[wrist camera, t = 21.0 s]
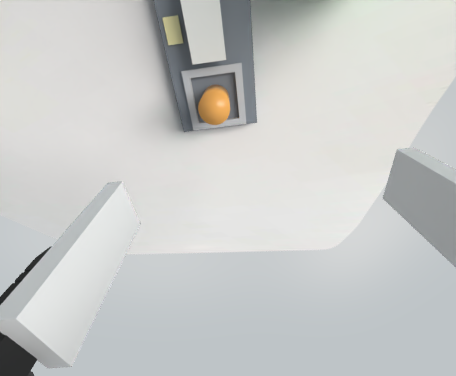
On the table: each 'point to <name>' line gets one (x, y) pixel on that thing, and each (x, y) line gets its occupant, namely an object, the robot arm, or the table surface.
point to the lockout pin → (214, 105)
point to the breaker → (204, 30)
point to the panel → (211, 64)
